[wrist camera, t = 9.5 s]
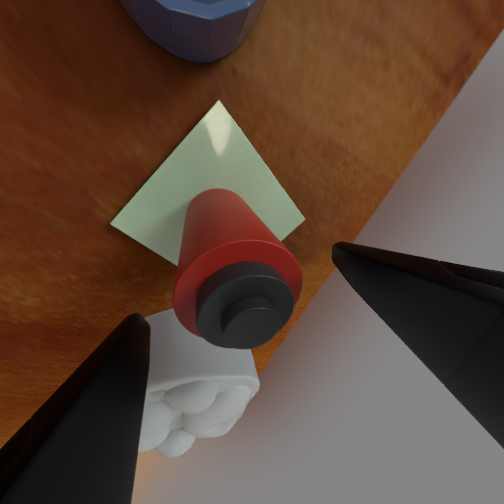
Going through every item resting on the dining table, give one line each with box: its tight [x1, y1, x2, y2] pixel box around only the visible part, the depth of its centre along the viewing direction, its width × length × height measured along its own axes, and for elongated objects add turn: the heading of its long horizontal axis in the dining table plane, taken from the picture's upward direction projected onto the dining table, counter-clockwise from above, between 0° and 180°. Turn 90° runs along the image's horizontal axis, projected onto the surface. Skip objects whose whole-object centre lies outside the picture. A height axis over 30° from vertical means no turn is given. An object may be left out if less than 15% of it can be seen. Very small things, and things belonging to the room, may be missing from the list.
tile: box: [110, 100, 305, 266], centre depth 15 cm, size 11×11×1 cm
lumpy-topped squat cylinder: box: [138, 308, 260, 457], centre depth 18 cm, size 10×13×9 cm
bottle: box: [173, 188, 302, 350], centre depth 10 cm, size 5×5×10 cm
